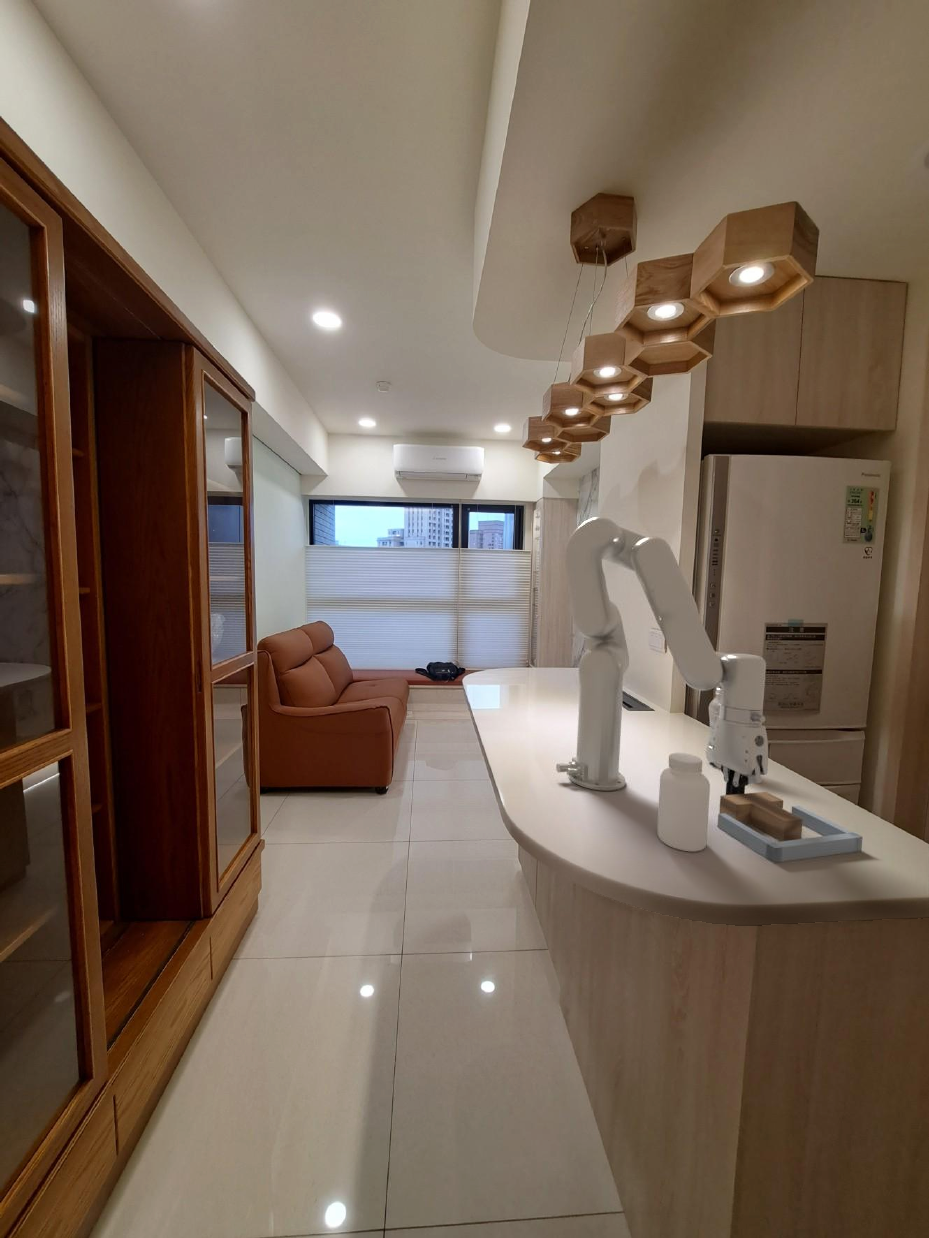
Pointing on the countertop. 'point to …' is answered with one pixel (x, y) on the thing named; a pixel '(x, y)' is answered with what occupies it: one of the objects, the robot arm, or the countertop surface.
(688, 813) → the pill bottle
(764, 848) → the frame
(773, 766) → the countertop surface
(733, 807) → the t block
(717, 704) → the plastic bottle
